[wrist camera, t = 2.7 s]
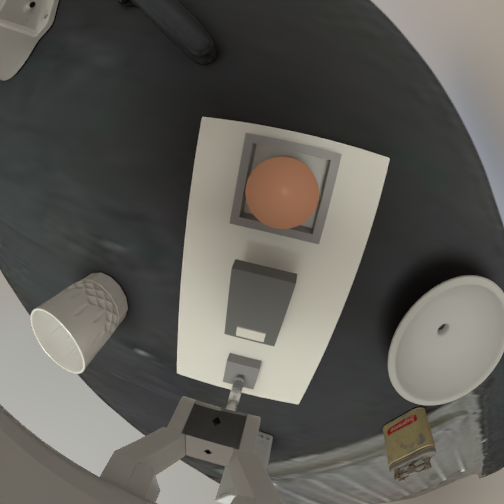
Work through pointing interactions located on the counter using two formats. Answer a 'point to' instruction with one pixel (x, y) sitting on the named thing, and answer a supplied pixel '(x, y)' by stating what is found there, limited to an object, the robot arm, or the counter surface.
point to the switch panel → (270, 254)
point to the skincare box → (226, 485)
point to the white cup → (79, 320)
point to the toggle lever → (235, 394)
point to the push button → (282, 192)
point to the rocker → (258, 301)
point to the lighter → (409, 444)
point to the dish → (448, 341)
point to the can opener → (178, 27)
